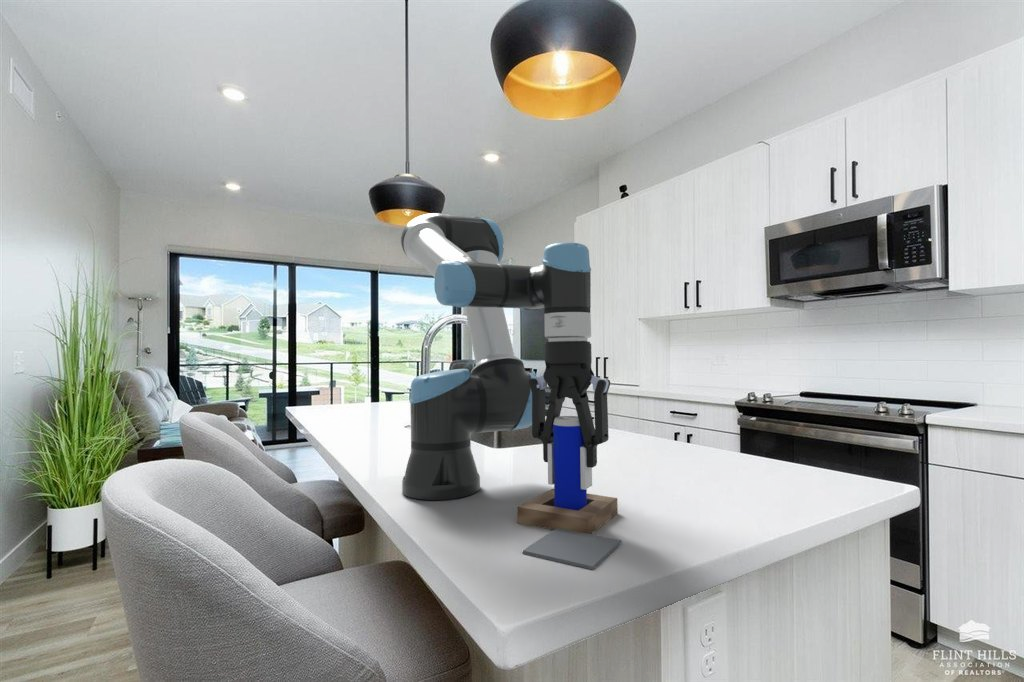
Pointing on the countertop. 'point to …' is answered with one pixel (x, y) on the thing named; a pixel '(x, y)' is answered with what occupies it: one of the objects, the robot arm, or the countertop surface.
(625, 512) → the countertop surface
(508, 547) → the countertop surface
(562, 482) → the beverage can
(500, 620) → the countertop surface
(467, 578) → the countertop surface
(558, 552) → the grey rubber mat
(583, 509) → the walnut collar block
